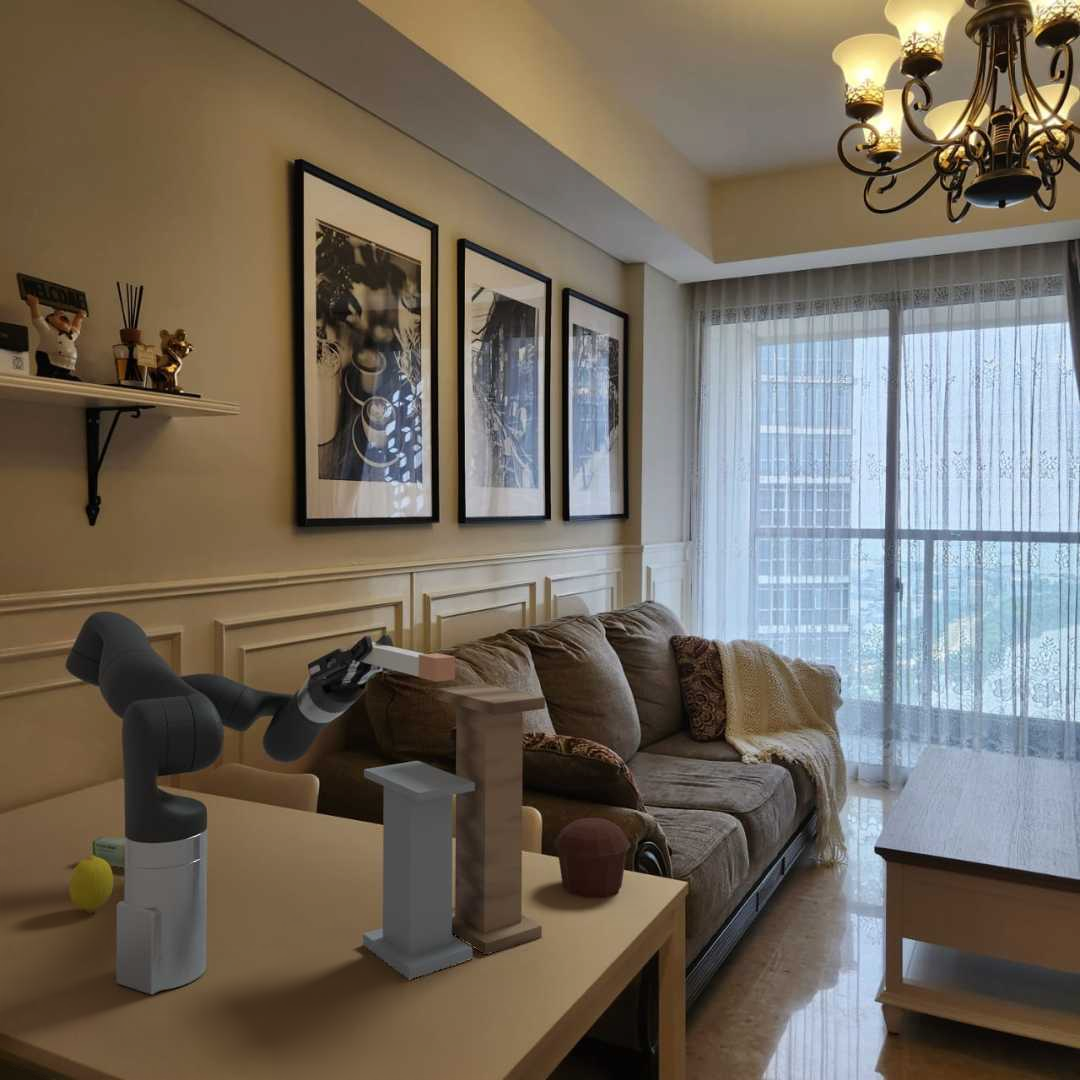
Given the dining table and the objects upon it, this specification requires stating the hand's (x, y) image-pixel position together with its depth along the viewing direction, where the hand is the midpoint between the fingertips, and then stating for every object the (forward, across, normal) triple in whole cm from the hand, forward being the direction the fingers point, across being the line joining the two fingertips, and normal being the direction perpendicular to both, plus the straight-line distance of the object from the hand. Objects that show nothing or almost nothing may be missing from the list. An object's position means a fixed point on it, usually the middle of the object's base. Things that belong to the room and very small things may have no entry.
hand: (379, 641), depth 126 cm
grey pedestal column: (-10, 0, +39) cm, 40 cm away
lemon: (-43, -30, +20) cm, 56 cm away
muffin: (-13, +32, +37) cm, 51 cm away
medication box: (-58, -21, +12) cm, 63 cm away
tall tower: (-10, +11, +39) cm, 42 cm away
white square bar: (+4, 0, +6) cm, 7 cm away
